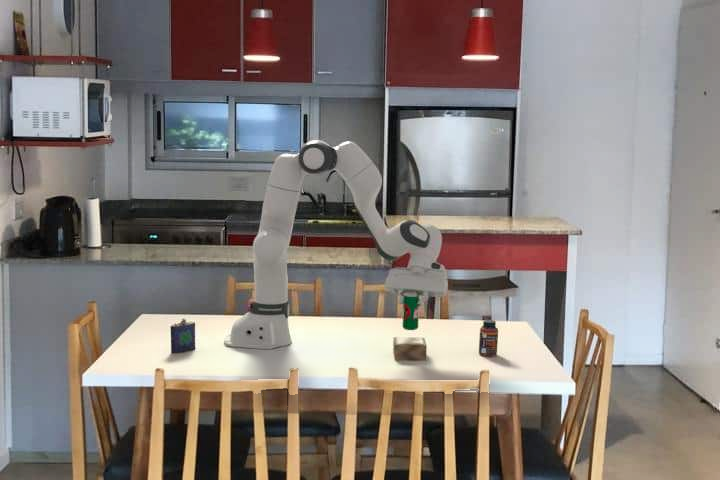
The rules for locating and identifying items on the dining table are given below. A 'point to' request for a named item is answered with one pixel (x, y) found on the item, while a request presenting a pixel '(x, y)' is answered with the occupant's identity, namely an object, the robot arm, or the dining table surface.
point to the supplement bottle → (488, 339)
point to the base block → (409, 348)
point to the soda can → (410, 310)
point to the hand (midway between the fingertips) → (410, 304)
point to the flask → (182, 337)
